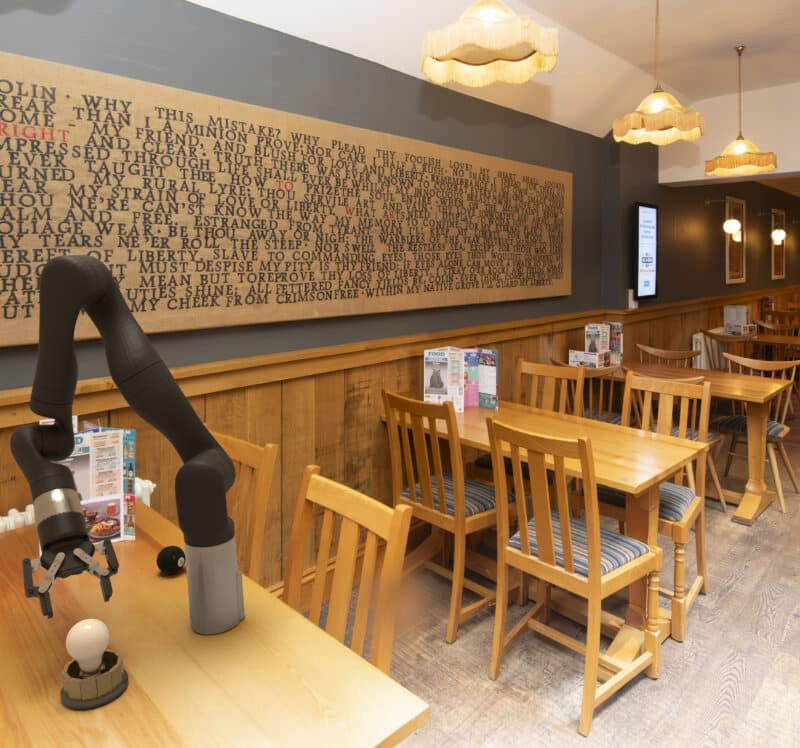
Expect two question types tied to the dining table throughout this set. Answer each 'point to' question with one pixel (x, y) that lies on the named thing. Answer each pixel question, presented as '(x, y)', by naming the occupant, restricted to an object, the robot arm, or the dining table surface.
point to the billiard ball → (171, 559)
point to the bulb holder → (94, 683)
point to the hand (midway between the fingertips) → (79, 608)
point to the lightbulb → (88, 645)
